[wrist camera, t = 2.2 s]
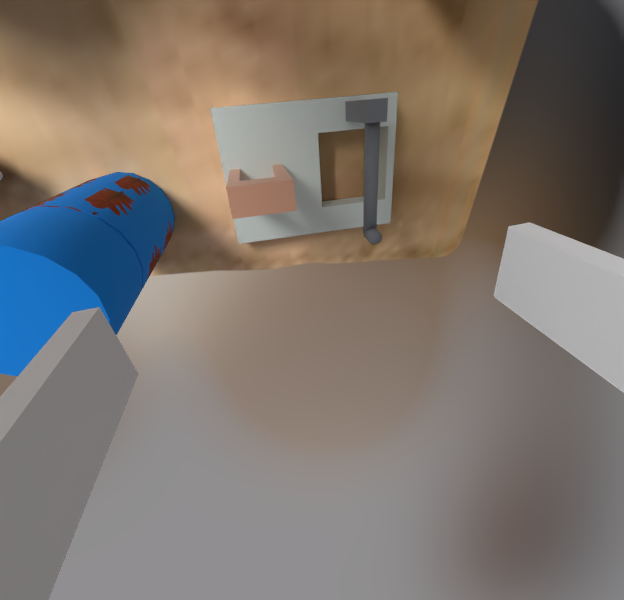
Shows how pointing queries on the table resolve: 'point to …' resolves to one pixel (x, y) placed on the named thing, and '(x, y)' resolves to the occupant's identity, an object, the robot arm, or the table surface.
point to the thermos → (77, 259)
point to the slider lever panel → (310, 161)
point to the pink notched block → (261, 194)
